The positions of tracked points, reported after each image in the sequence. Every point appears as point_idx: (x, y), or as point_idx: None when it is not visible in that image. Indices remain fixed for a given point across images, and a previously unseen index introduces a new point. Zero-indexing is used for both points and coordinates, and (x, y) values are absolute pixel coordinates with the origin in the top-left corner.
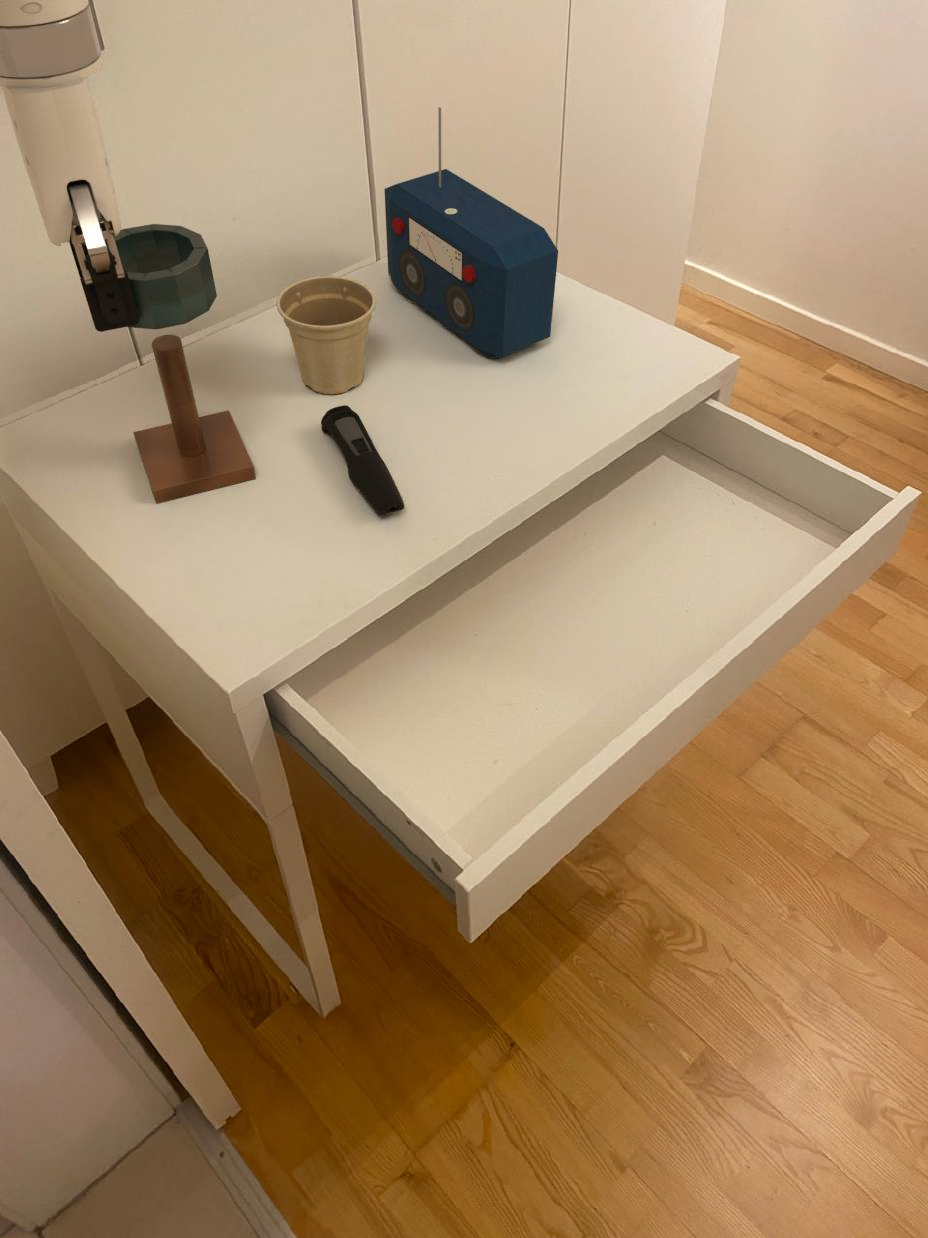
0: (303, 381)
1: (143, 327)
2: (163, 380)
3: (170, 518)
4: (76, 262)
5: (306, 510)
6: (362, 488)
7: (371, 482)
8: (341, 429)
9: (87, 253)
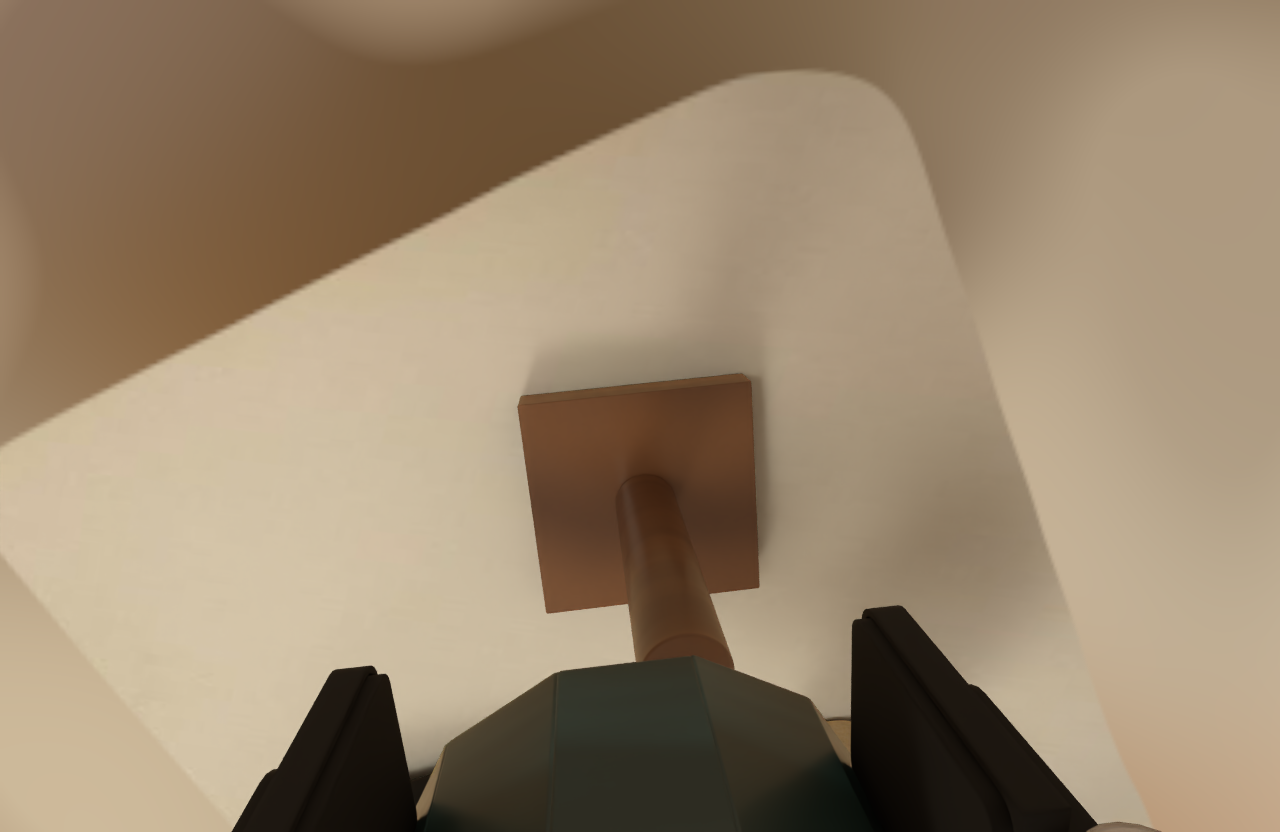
0: (829, 723)
1: (417, 804)
2: (647, 580)
3: (465, 419)
4: (904, 665)
5: (426, 669)
6: (421, 790)
7: None
8: None
9: (912, 762)
